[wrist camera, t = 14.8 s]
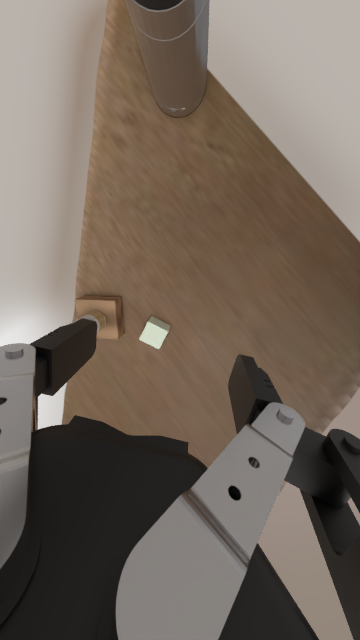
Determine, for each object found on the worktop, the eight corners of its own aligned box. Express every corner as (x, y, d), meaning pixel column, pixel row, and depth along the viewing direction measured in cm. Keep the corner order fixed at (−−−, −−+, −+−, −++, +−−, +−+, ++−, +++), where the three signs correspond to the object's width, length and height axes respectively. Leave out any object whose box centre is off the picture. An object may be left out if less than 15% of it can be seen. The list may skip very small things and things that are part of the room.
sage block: (152, 315, 49) (148, 321, 45) (170, 325, 49) (168, 331, 46) (143, 332, 51) (139, 339, 47) (161, 342, 51) (158, 349, 47)
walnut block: (84, 295, 49) (74, 299, 45) (121, 296, 48) (114, 300, 44) (89, 331, 52) (80, 337, 48) (124, 332, 51) (118, 339, 47)
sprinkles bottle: (104, 331, 47) (69, 362, 34) (85, 325, 47) (43, 353, 34) (109, 313, 45) (74, 338, 33) (89, 306, 45) (46, 329, 33)
